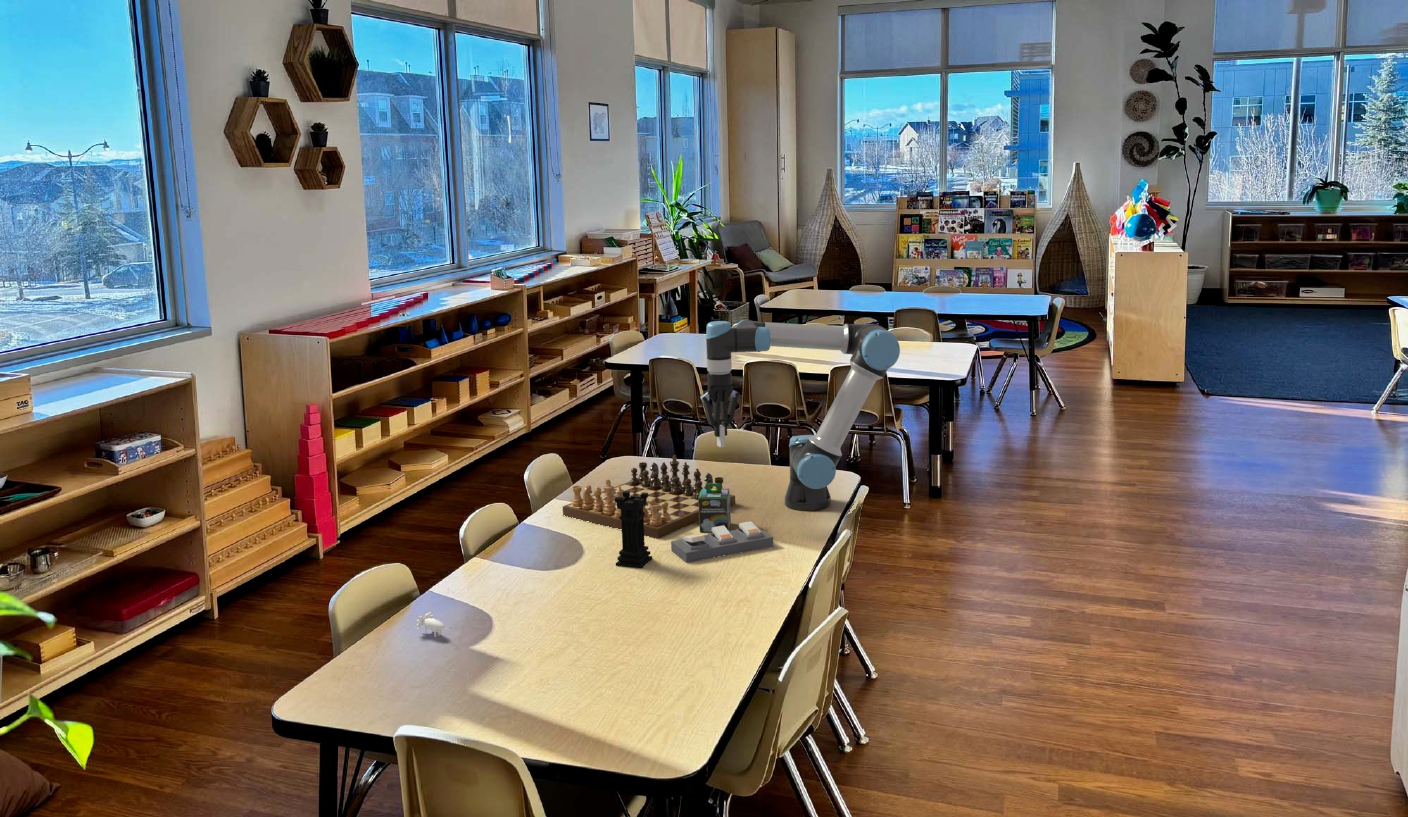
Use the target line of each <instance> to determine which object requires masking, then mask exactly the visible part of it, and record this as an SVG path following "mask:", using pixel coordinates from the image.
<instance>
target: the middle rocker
mask: <svg viewBox="0 0 1408 817" xmlns="http://www.w3.org/2000/svg"><path fill="white" fill-rule="evenodd" d="M729 531H730V530H729ZM729 531H728V530H727V529H726V527H725V526H724V525H723V526H718V527H712V532H711V533H714V534H715V536H716V537H717V538H718V540H719V541H720V542H721V541H726V540H732V539H733V536H732V535H731V534H730V532H729Z"/></svg>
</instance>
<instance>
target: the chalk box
mask: <svg viewBox="0 0 1408 817" xmlns="http://www.w3.org/2000/svg"><path fill="white" fill-rule="evenodd" d="M705 485H706V489H705V488H703V489H702V490H701V491H700V495H699V497H698V505H699V521H698V523H699V524H698V525H699V532H700V533H713V532H712V527H718V526H723V525H724V526H725V527H726V529H727V530H728V531H730V529H731V528H730V527H731V523H732V519H731V516H732V515H731V507H730V488H723V489H721V484H720V483H715V482H713V483H707V484H706V483H705ZM712 486H713V487H715V488H713V489H710V488H711V487H712ZM716 487H717V489H716Z"/></svg>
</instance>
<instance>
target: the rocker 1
mask: <svg viewBox="0 0 1408 817" xmlns="http://www.w3.org/2000/svg"><path fill="white" fill-rule="evenodd" d="M703 536H704V535H699V534H693V535H686V536H683V538H682V539H684V541H688V542H698V541H703V540H705V537H703Z"/></svg>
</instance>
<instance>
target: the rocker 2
mask: <svg viewBox="0 0 1408 817" xmlns="http://www.w3.org/2000/svg"><path fill="white" fill-rule="evenodd" d="M738 527H739V529H740V528H741V529H742V530H743V531H744V533H745V534H746V535H747V536H754V535H759V534H761V531H760V530H759V529H758V528H759V527H758V526H757V527H758V528H757V527H756V525H755V524H754V523H753V522H752V521H751V520H750V521H745V522H740V523H738Z"/></svg>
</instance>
